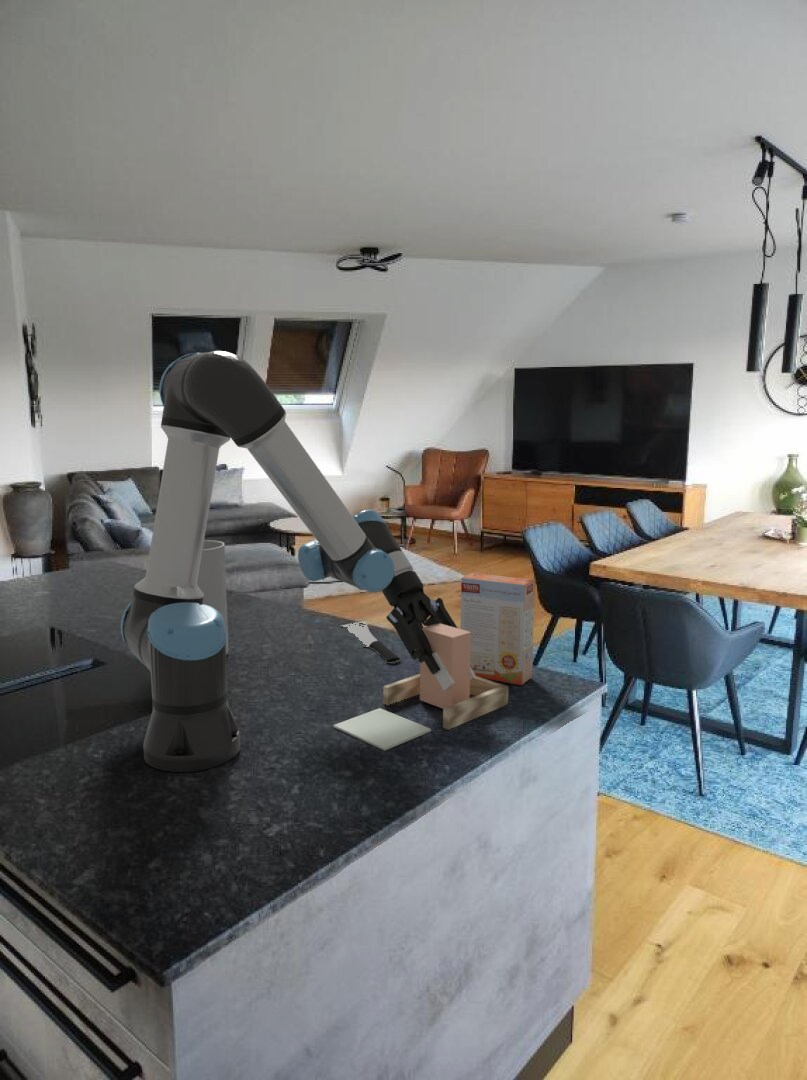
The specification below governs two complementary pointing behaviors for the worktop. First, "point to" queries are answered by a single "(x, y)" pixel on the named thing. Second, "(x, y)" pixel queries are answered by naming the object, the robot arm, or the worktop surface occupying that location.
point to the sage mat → (382, 728)
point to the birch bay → (483, 702)
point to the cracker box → (499, 626)
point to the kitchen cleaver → (371, 641)
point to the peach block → (447, 665)
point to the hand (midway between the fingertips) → (459, 682)
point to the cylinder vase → (214, 578)
